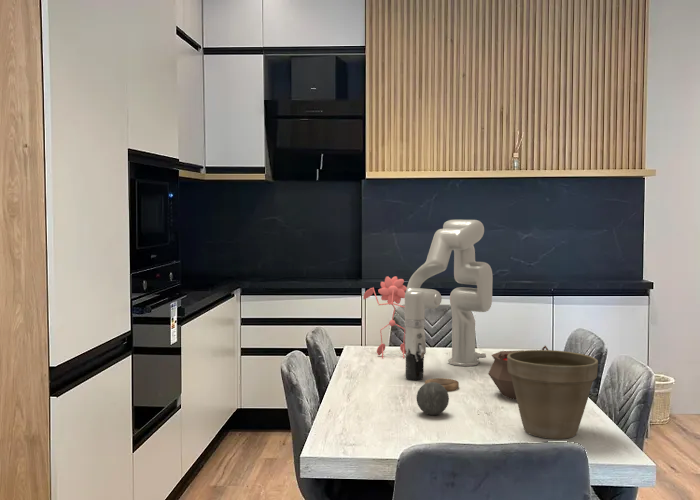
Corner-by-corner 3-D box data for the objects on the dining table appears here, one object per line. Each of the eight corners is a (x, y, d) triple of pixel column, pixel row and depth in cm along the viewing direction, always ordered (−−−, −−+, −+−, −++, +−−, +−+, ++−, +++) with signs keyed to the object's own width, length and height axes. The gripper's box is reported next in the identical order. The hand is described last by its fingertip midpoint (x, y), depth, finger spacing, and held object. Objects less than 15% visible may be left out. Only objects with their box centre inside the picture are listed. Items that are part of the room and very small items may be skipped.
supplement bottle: (424, 380, 273) (424, 348, 272) (405, 380, 273) (406, 348, 272) (422, 376, 280) (422, 345, 279) (404, 376, 280) (405, 345, 279)
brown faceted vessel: (525, 408, 234) (525, 358, 233) (473, 393, 254) (473, 346, 253) (575, 398, 247) (575, 350, 246) (522, 384, 267) (522, 339, 266)
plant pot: (579, 419, 222) (580, 348, 221) (611, 444, 197) (612, 365, 196) (497, 420, 221) (498, 348, 220) (519, 446, 196) (519, 366, 195)
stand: (449, 382, 270) (450, 376, 269) (464, 390, 258) (464, 384, 258) (419, 385, 266) (419, 379, 266) (433, 392, 255) (433, 386, 254)
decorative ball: (415, 418, 223) (415, 385, 223) (417, 409, 233) (417, 378, 233) (448, 419, 222) (448, 386, 221) (448, 410, 232) (448, 379, 231)
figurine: (423, 358, 313) (423, 277, 312) (363, 358, 314) (362, 277, 313) (421, 352, 329) (421, 275, 328) (364, 352, 330) (363, 275, 329)
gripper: (433, 326, 268) (432, 373, 269) (415, 320, 285) (415, 364, 285) (414, 327, 266) (413, 374, 267) (397, 320, 282) (397, 365, 283)
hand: (414, 369), depth 276 cm, fingers open, 8 cm apart
